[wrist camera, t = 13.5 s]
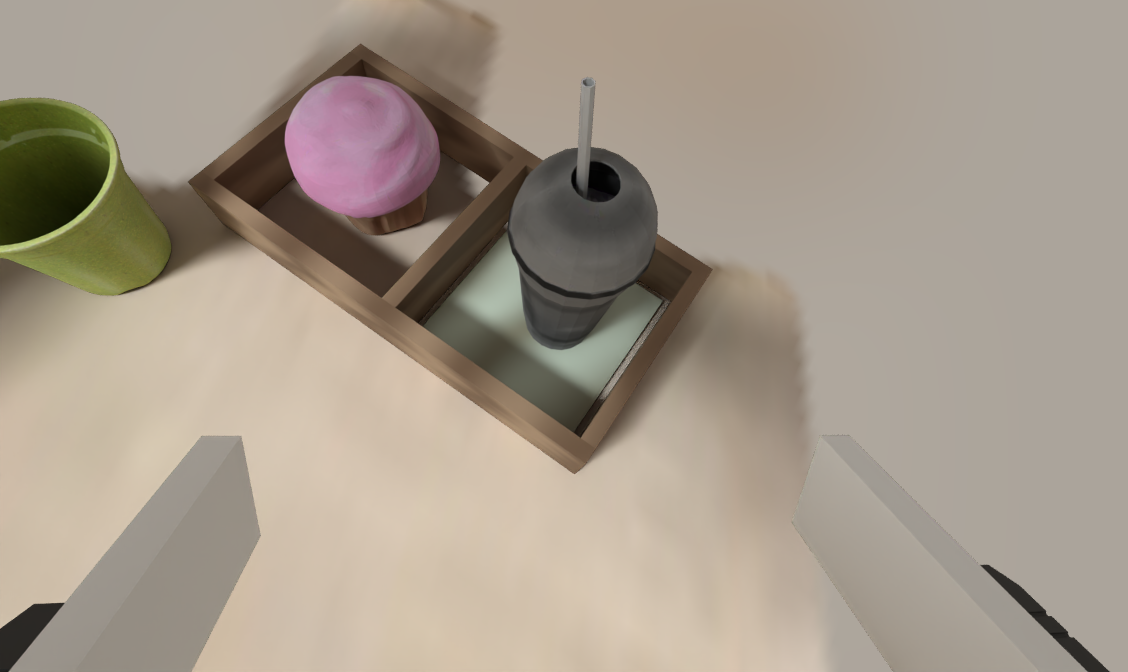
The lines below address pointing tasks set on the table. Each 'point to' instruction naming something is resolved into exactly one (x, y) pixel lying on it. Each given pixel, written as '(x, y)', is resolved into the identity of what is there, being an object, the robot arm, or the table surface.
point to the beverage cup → (579, 235)
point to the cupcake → (363, 152)
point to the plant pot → (73, 200)
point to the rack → (465, 280)
